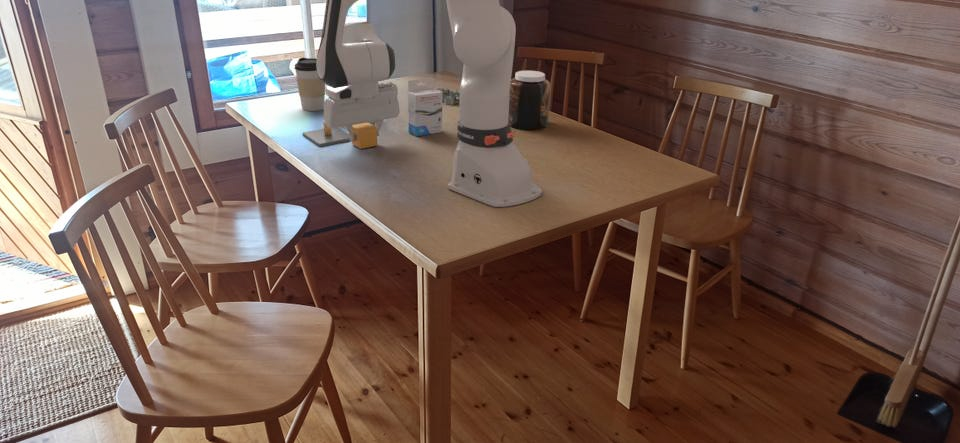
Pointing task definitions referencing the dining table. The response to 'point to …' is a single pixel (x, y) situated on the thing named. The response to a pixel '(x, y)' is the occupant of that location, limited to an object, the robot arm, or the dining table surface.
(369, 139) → the orange cubic block
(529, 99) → the jar
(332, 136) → the plate
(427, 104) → the ink box
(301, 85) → the coffee cup
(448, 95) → the egg carton
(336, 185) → the dining table surface
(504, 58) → the robot arm
